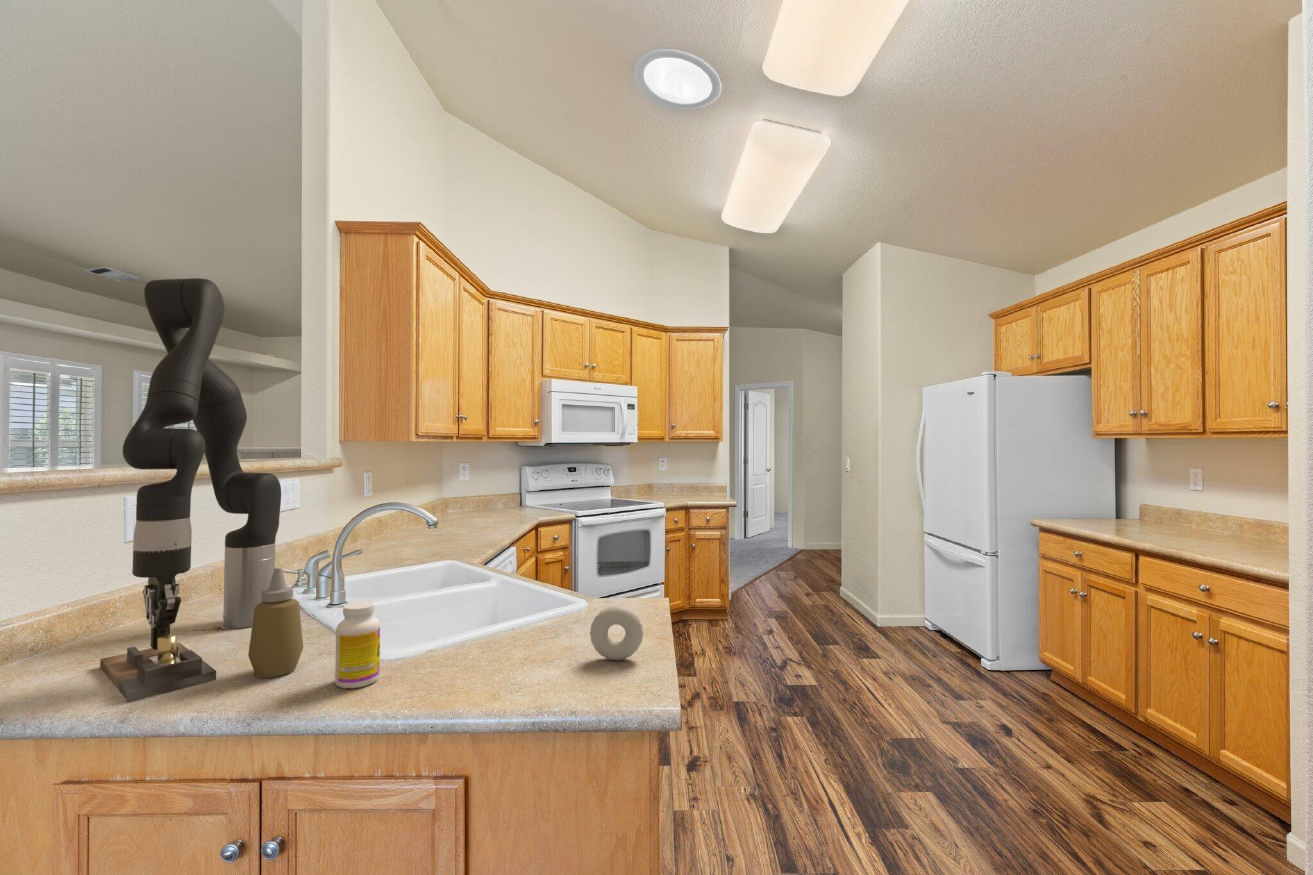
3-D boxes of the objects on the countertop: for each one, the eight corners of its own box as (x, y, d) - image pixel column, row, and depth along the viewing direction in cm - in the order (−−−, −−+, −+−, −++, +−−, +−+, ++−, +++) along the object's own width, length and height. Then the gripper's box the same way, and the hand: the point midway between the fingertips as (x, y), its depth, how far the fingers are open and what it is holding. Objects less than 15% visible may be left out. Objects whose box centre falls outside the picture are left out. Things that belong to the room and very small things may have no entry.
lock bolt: (171, 664, 99) (172, 629, 99) (184, 676, 94) (185, 639, 94) (148, 669, 97) (149, 633, 97) (161, 681, 92) (162, 644, 92)
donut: (643, 656, 110) (643, 604, 110) (642, 663, 106) (643, 609, 106) (590, 655, 110) (591, 603, 110) (588, 662, 106) (589, 608, 106)
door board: (179, 650, 110) (179, 628, 110) (216, 679, 97) (216, 654, 97) (100, 667, 101) (100, 643, 102) (128, 702, 88) (129, 674, 88)
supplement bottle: (384, 682, 96) (386, 605, 96) (340, 693, 92) (342, 613, 92) (372, 670, 101) (374, 597, 102) (330, 680, 97) (332, 604, 97)
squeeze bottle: (243, 685, 95) (245, 575, 95) (251, 667, 102) (253, 566, 102) (301, 676, 99) (303, 571, 99) (304, 660, 106) (306, 562, 106)
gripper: (202, 547, 97) (199, 650, 96) (180, 538, 105) (177, 633, 104) (143, 553, 91) (139, 663, 90) (124, 543, 99) (121, 644, 98)
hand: (159, 647), depth 97 cm, fingers closed
